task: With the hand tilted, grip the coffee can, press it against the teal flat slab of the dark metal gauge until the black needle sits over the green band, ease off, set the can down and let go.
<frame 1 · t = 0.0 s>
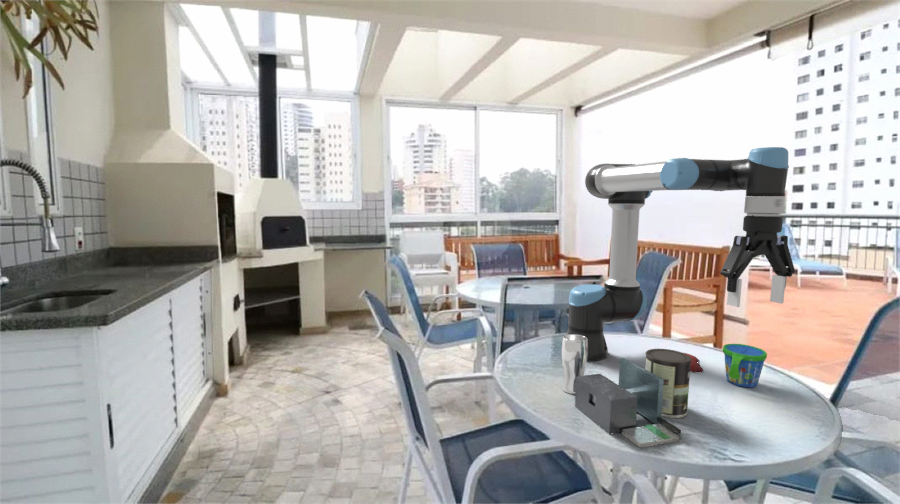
hand: (755, 304, 105), 28 cm above the table, tool pointing down, fingers open, 13 cm apart
gauge housing: (639, 412, 109), on the table
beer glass: (573, 390, 122), on the table
teal flat slab: (626, 397, 104), point 6 cm above the table, slide at 0.0 cm
snack cup: (741, 383, 127), on the table
coffee can: (664, 409, 111), on the table
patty: (676, 363, 144), on the table
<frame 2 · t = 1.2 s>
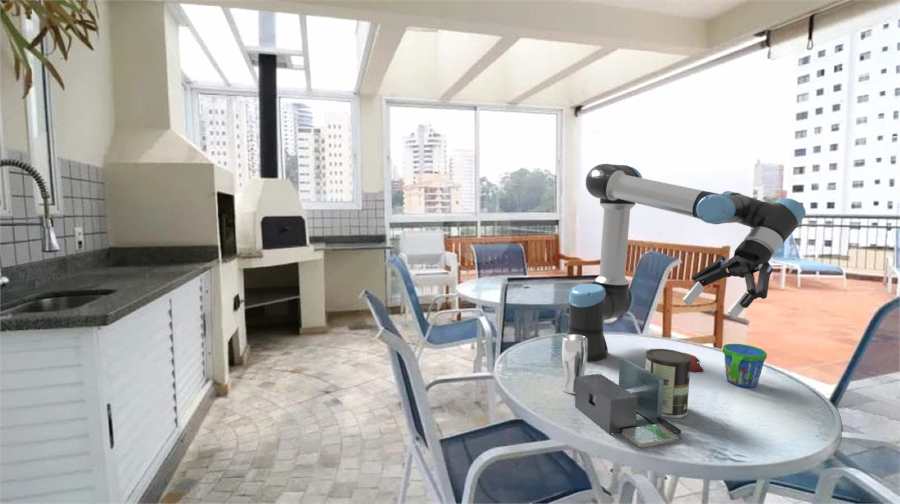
hand: (707, 308, 111), 25 cm above the table, tool tilted 45°, fingers open, 13 cm apart
nothing on the table moved.
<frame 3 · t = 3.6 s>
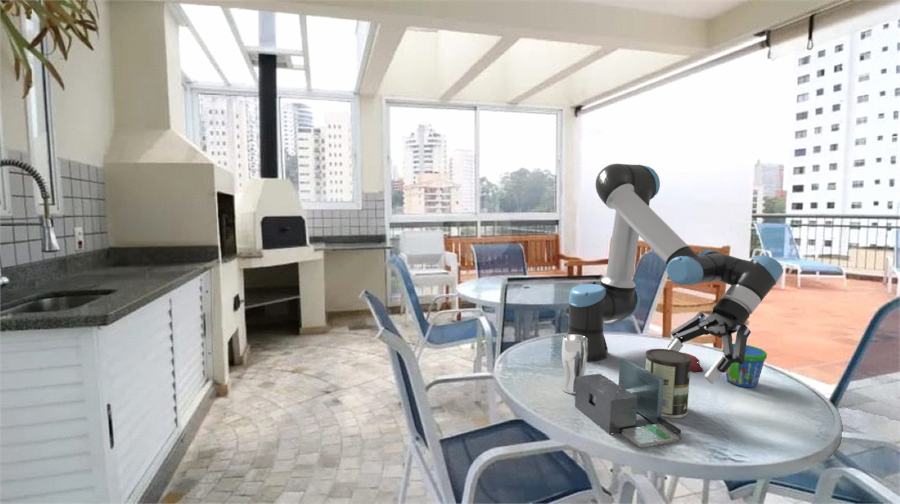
hand: (685, 369, 110), 10 cm above the table, tool tilted 45°, fingers open, 13 cm apart
nothing on the table moved.
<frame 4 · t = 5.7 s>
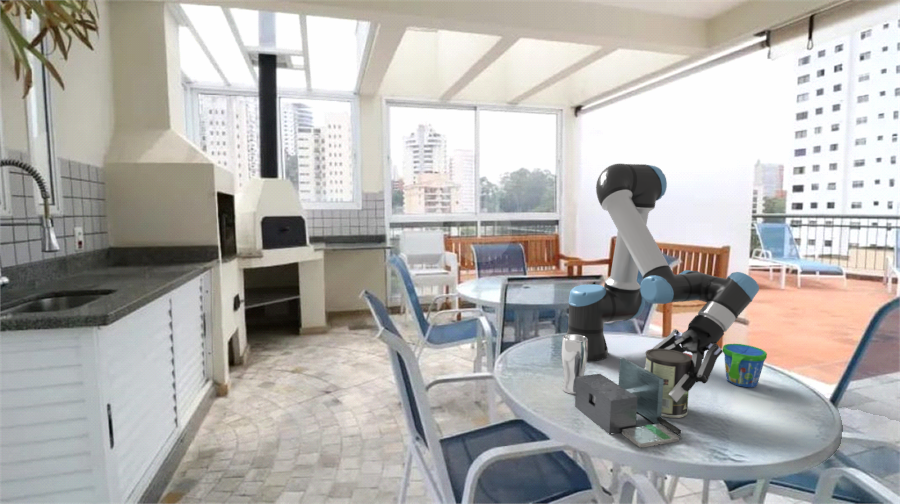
hand: (656, 389, 110), 6 cm above the table, tool tilted 45°, fingers closed on coffee can, 10 cm apart
coffee can: (664, 409, 111), on the table, touching gripper
everything else where it was.
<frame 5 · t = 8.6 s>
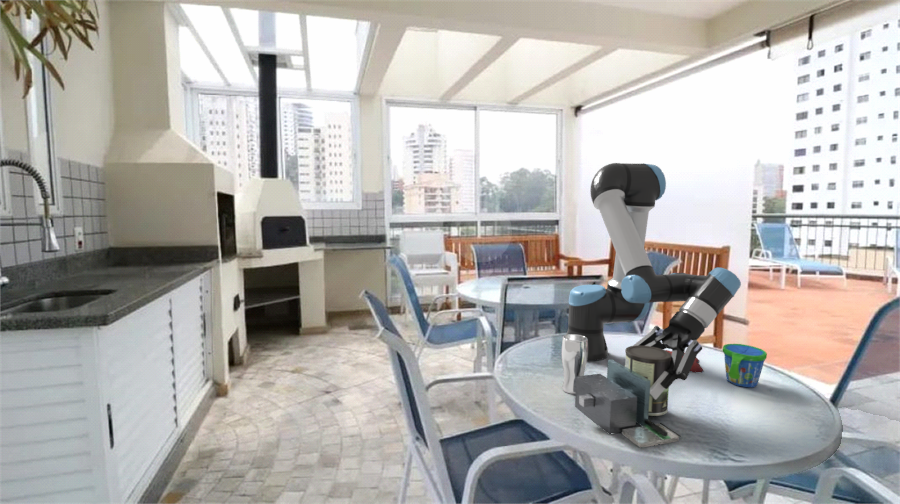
hand: (635, 386, 108), 7 cm above the table, tool tilted 45°, fingers closed on coffee can, 10 cm apart
teal flat slab: (613, 399, 103), point 6 cm above the table, slide at 3.7 cm
coffee can: (644, 406, 109), point 1 cm above the table, touching gripper
everything else where it was.
when the fingers open (6 cm above the table, at t = 10.8 s): coffee can stays where it is, on the table.
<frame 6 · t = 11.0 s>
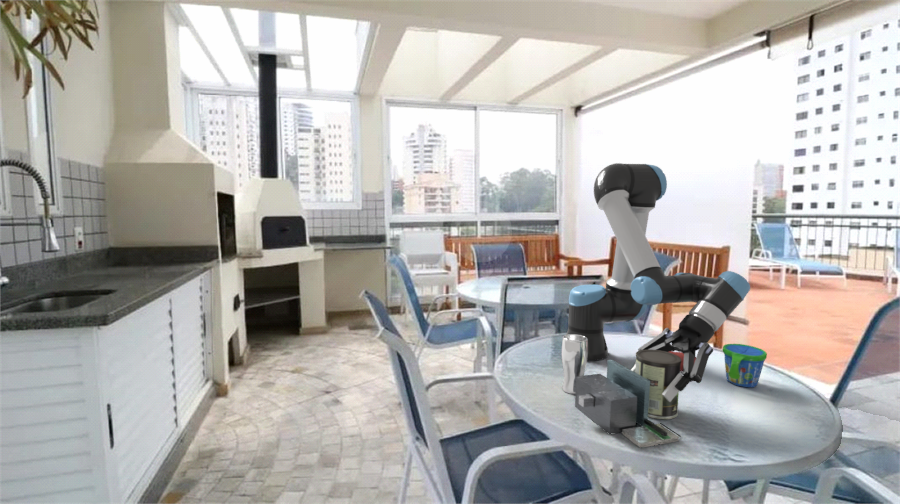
hand: (647, 387, 109), 6 cm above the table, tool tilted 45°, fingers open, 12 cm apart
coffee can: (654, 410, 111), on the table
everything else where it was.
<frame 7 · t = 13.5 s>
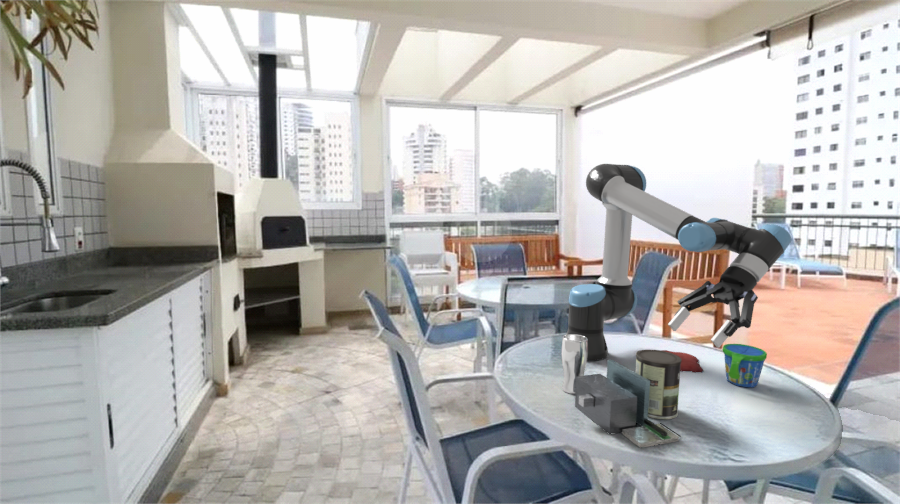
hand: (691, 335, 111), 19 cm above the table, tool tilted 45°, fingers open, 13 cm apart
nothing on the table moved.
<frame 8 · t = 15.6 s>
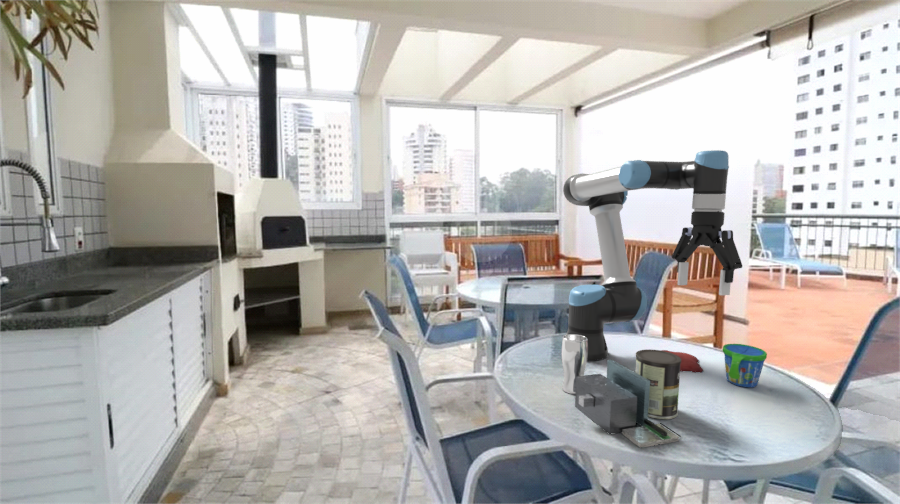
hand: (702, 289, 118), 29 cm above the table, tool pointing down, fingers open, 13 cm apart
nothing on the table moved.
at the end: teal flat slab slide at 3.8 cm; coffee can tilted 0°; the gripper is holding nothing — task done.
